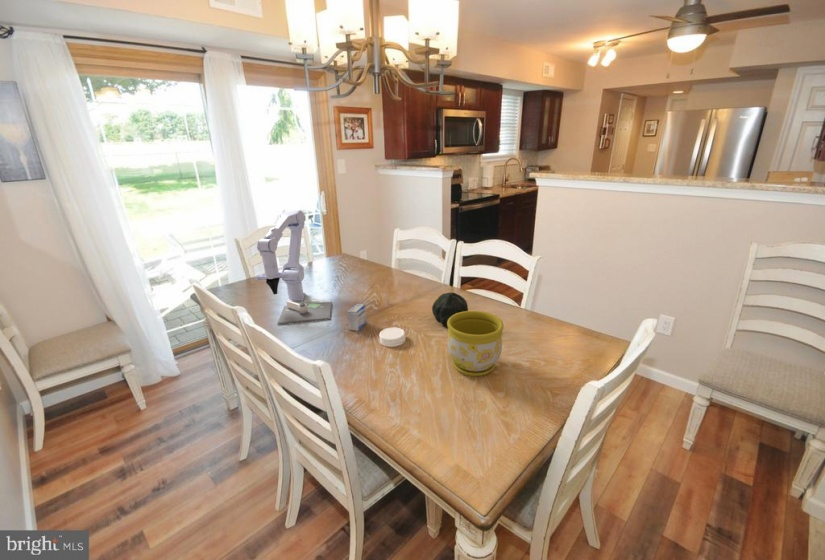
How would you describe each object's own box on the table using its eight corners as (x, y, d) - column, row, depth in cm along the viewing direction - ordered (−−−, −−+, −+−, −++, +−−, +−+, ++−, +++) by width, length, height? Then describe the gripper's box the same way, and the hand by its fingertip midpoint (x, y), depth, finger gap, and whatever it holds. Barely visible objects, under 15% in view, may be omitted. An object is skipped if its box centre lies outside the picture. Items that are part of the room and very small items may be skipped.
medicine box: (358, 331, 148) (356, 312, 145) (348, 330, 149) (346, 311, 146) (366, 322, 155) (365, 304, 152) (357, 321, 156) (355, 303, 153)
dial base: (284, 307, 172) (284, 305, 172) (331, 303, 175) (331, 301, 175) (277, 325, 155) (277, 322, 155) (329, 319, 159) (329, 317, 158)
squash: (445, 298, 163) (435, 282, 151) (476, 306, 156) (468, 290, 144) (433, 327, 158) (422, 312, 146) (465, 336, 151) (456, 322, 139)
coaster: (382, 349, 134) (381, 341, 133) (377, 336, 143) (377, 329, 142) (408, 345, 137) (408, 336, 136) (402, 333, 146) (401, 325, 145)
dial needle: (309, 311, 164) (308, 303, 163) (302, 314, 161) (301, 307, 160) (291, 305, 171) (290, 298, 170) (284, 308, 168) (283, 300, 167)
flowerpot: (464, 346, 134) (465, 306, 129) (510, 362, 123) (513, 319, 118) (436, 368, 121) (436, 325, 116) (484, 389, 110) (486, 342, 105)
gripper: (251, 269, 155) (256, 298, 160) (286, 266, 157) (290, 295, 162) (255, 264, 162) (260, 292, 167) (288, 262, 164) (292, 289, 169)
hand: (275, 293), depth 165 cm, fingers closed
